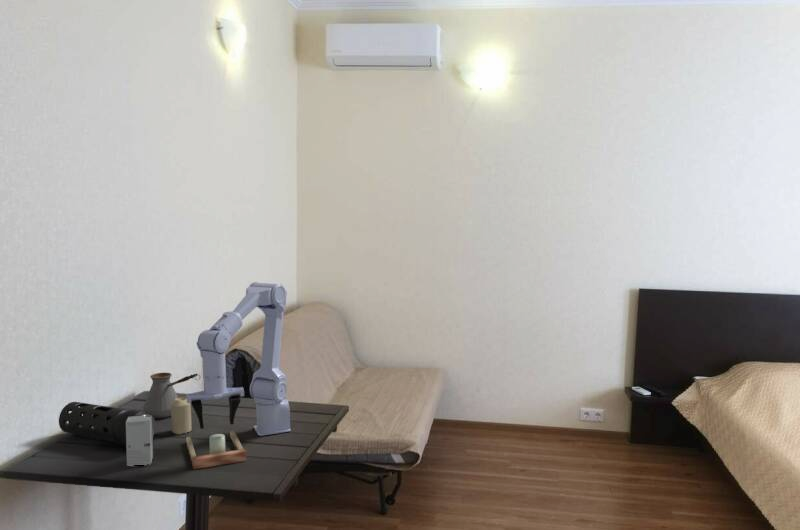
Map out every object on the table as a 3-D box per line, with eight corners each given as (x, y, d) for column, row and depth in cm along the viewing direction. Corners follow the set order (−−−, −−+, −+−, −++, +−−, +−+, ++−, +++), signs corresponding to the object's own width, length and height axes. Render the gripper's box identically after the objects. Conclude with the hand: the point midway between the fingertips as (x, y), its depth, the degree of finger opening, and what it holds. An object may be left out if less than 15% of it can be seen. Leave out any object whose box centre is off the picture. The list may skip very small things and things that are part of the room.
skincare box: (126, 467, 170) (124, 422, 169) (129, 460, 174) (127, 416, 173) (151, 465, 171) (149, 420, 170) (154, 458, 176) (152, 414, 175)
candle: (185, 435, 193) (184, 401, 192) (168, 434, 194) (166, 400, 193) (195, 428, 198) (193, 396, 197) (178, 427, 199) (176, 395, 198)
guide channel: (234, 435, 192) (234, 427, 192) (246, 460, 174) (246, 451, 174) (186, 442, 187) (185, 434, 187) (193, 469, 169) (193, 459, 168)
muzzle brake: (86, 430, 198) (84, 396, 197) (158, 443, 187) (157, 407, 186) (58, 441, 189) (56, 406, 188) (133, 455, 178) (131, 418, 177)
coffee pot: (135, 417, 209) (133, 371, 207) (163, 406, 219) (161, 362, 217) (186, 427, 200) (184, 378, 198) (213, 415, 210) (211, 369, 208)
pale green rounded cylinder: (224, 454, 178) (223, 433, 177) (226, 460, 174) (225, 438, 174) (209, 457, 177) (208, 435, 176) (211, 462, 173) (210, 440, 172)
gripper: (187, 382, 167) (189, 434, 168) (245, 375, 172) (247, 426, 174) (184, 375, 173) (187, 425, 175) (240, 369, 179) (242, 417, 180)
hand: (216, 425), depth 175 cm, fingers open, 7 cm apart
